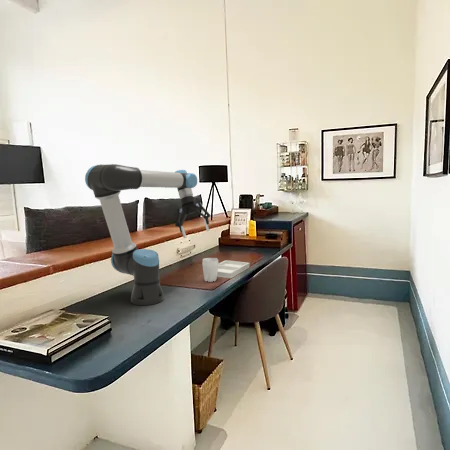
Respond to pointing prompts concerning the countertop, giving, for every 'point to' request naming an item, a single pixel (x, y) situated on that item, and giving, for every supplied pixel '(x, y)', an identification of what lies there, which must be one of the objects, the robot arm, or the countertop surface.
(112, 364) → the countertop surface
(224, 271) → the tray
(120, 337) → the countertop surface
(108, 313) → the countertop surface
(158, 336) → the countertop surface
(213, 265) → the cup
